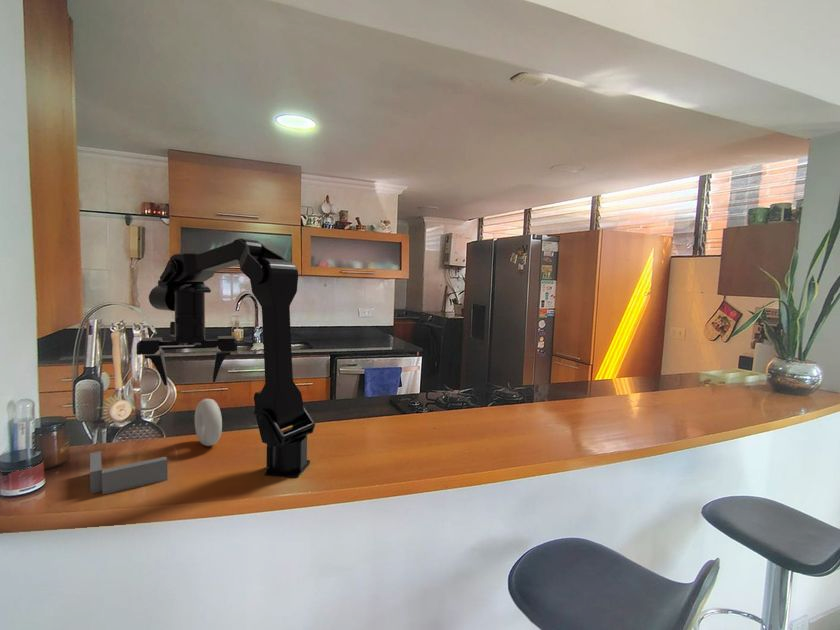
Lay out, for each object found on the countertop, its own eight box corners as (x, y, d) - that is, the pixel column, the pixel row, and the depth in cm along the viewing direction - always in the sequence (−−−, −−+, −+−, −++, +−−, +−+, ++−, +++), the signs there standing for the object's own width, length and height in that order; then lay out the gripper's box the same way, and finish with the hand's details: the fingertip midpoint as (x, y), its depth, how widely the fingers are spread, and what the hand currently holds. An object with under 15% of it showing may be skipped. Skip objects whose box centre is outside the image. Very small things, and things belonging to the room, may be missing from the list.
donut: (224, 449, 85) (224, 403, 84) (206, 454, 82) (206, 406, 81) (209, 435, 92) (209, 392, 91) (192, 439, 89) (192, 395, 89)
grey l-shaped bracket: (172, 478, 72) (171, 456, 72) (138, 500, 65) (138, 476, 64) (96, 471, 73) (95, 450, 73) (55, 492, 66) (54, 469, 66)
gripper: (236, 310, 99) (235, 372, 100) (145, 309, 91) (146, 378, 92) (237, 314, 89) (237, 383, 90) (135, 314, 81) (136, 390, 82)
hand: (190, 383), depth 89 cm, fingers open, 9 cm apart
